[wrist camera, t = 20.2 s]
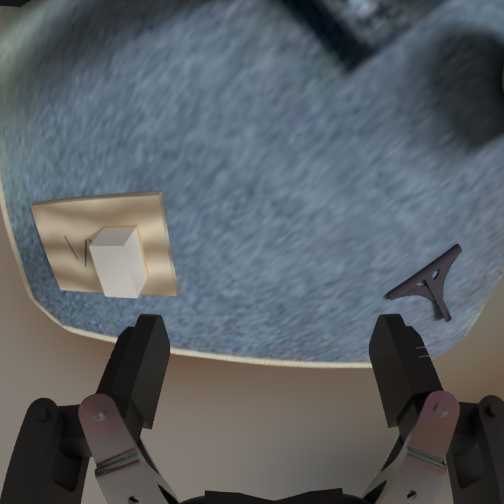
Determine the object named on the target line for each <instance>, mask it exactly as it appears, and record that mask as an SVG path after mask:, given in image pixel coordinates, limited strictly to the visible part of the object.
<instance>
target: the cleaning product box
mask: <svg viewBox="0 0 504 504" xmlns="http://www.w3.org/2000/svg"><path fill="white" fill-rule="evenodd" d="M29 1H30V0H0V6H13V7H21V6H22V5H24V4H25V3H27V2H29Z"/></svg>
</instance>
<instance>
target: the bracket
mask: <svg viewBox="0 0 504 504" xmlns="http://www.w3.org/2000/svg"><path fill="white" fill-rule="evenodd" d="M461 252H462V249H461V247H460V246H459V244H456V245H455V246H454V247H452V248H451V249H450V250H448V251H447V252H446V253H444V254H443V255H442V256H440V257H439V258H438V259H436V260H435V261H433V262H432V263H431V264H429V265H428V266H426V267H425V268H424V269H422V270H421V271H419V272H418V273H416V274H415V275H414V276H412V277H411V278H409V279H408V280H406V281H405V282H403V283H402V284H400V285H399V286H397V287H396V288H394V289H393V290H391V291H390V292H388V293H387V294H388V296H389V297H390V299H391V300H394V299H396V298H400V297H404V296H411V295H419V296H425V297H427V298H429V299H431V300H432V301H434V302H437V304H438V306H439V308H440V311H441V313H442V315H443V317H444V319H445V321H446V322H448V321H450V320H451V319H452V317H451V315H450V313H449V311H448V309H447V307H446V305H445V303H444V301H443V298H442V297H443V286H444V281H445V278H446V275H447V273H448V271H449V269H450V267H451V265H452V264H453V262H454V261H455V259H456V258H457V256H458V255H459V254H460V253H461ZM438 269H439V272H438V274H437V276H436V277H435V278H434V279H433V277H432V274H433V273H434V272H435V271H437V270H438ZM422 280H425V281H426V282H427V284H425V285H423V286H418V285H416V284H418V283H419V282H421V281H422Z"/></svg>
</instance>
